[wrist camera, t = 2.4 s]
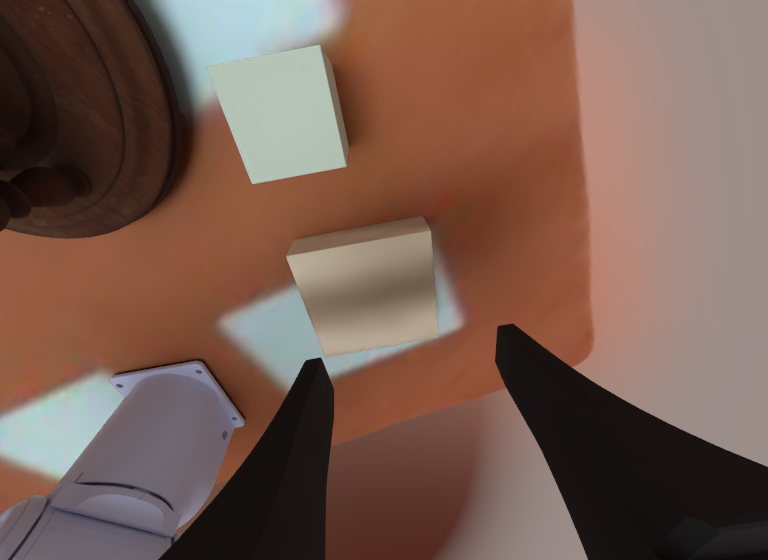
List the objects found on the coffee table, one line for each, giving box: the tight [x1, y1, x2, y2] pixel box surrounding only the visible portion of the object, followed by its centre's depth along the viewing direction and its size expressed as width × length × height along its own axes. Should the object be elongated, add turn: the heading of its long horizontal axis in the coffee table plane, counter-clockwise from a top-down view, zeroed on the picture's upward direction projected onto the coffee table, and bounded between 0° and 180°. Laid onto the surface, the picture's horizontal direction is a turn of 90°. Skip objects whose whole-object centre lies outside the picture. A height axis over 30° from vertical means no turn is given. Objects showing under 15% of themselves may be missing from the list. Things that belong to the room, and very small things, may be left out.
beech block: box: [286, 216, 439, 357], centre depth 21 cm, size 9×9×3 cm
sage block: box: [206, 45, 349, 184], centre depth 13 cm, size 4×4×6 cm
